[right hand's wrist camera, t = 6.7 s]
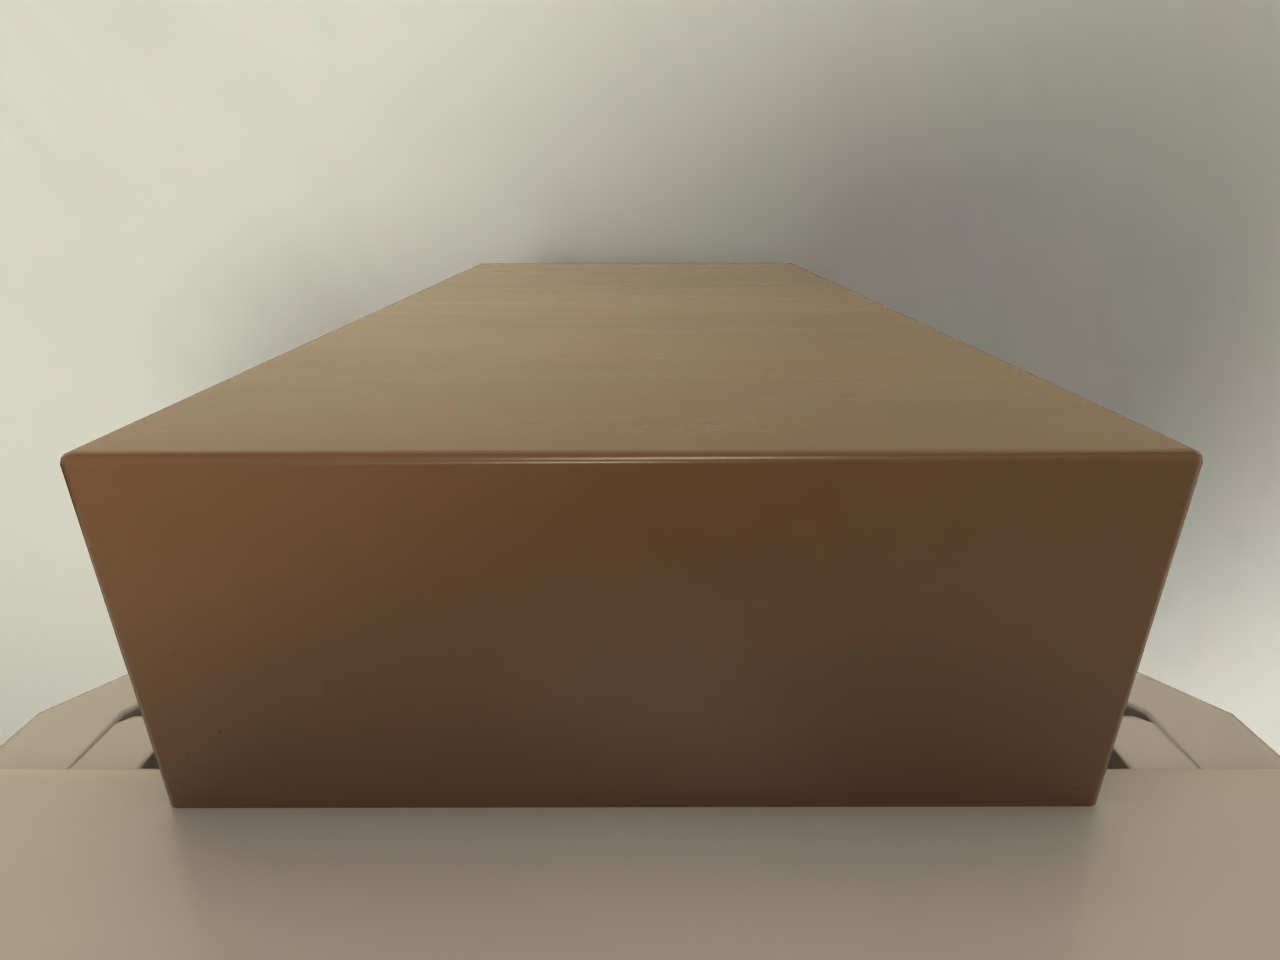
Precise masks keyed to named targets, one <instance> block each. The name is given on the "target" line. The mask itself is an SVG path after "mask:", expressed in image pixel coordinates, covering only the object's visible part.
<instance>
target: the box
mask: <svg viewBox="0 0 1280 960" xmlns="http://www.w3.org/2000/svg"><path fill="white" fill-rule="evenodd" d="M1202 463H1203V461H1202V455H1201V454H1200V452H1198V451H1196V450H1194V449H1192V448H1190V447H1188V446H1185V445H1183V444H1181V443H1179V442H1177V441H1175V440H1172V439H1170V438H1168V437H1166V436H1164V435H1162V434H1159V433H1157V432H1155V431H1153V430H1151V429H1149V428H1146V427H1144V426H1142V425H1140V424H1138V423H1136V422H1133V421H1131V420H1129V419H1127V418H1125V417H1123V416H1121V415H1118V414H1116V413H1114V412H1112V411H1110V410H1108V409H1105V408H1103V407H1101V406H1099V405H1097V404H1095V403H1092V402H1090V401H1088V400H1086V399H1084V398H1082V397H1079V396H1077V395H1075V394H1073V393H1071V392H1069V391H1066V390H1064V389H1062V388H1060V387H1058V386H1056V385H1053V384H1051V383H1049V382H1047V381H1045V380H1043V379H1040V378H1038V377H1036V376H1034V375H1032V374H1030V373H1027V372H1025V371H1023V370H1021V369H1019V368H1017V367H1015V366H1012V365H1010V364H1008V363H1006V362H1004V361H1002V360H999V359H997V358H995V357H993V356H991V355H989V354H986V353H984V352H982V351H980V350H978V349H976V348H973V347H971V346H969V345H967V344H965V343H963V342H960V341H958V340H956V339H954V338H952V337H950V336H947V335H945V334H943V333H941V332H939V331H937V330H934V329H932V328H930V327H928V326H926V325H924V324H921V323H919V322H917V321H915V320H913V319H911V318H909V317H906V316H904V315H902V314H900V313H898V312H896V311H893V310H891V309H889V308H887V307H885V306H883V305H880V304H878V303H876V302H874V301H872V300H870V299H867V298H865V297H863V296H861V295H859V294H857V293H854V292H852V291H850V290H848V289H846V288H844V287H841V286H839V285H837V284H835V283H833V282H831V281H828V280H826V279H824V278H822V277H820V276H818V275H815V274H813V273H811V272H809V271H807V270H805V269H803V268H800V267H798V266H796V265H794V264H792V263H567V264H480V265H478V266H475V267H473V268H471V269H469V270H467V271H464V272H462V273H460V274H458V275H456V276H453V277H451V278H449V279H447V280H445V281H442V282H440V283H438V284H436V285H434V286H432V287H429V288H427V289H425V290H423V291H421V292H418V293H416V294H414V295H412V296H410V297H407V298H405V299H403V300H401V301H399V302H396V303H394V304H392V305H390V306H388V307H385V308H383V309H381V310H379V311H377V312H375V313H372V314H370V315H368V316H366V317H364V318H361V319H359V320H357V321H355V322H353V323H350V324H348V325H346V326H344V327H342V328H339V329H337V330H335V331H333V332H331V333H328V334H326V335H324V336H322V337H320V338H318V339H315V340H313V341H311V342H309V343H307V344H304V345H302V346H300V347H298V348H296V349H293V350H291V351H289V352H287V353H285V354H282V355H280V356H278V357H276V358H274V359H272V360H269V361H267V362H265V363H263V364H261V365H258V366H256V367H254V368H252V369H250V370H247V371H245V372H243V373H241V374H239V375H236V376H234V377H232V378H230V379H228V380H225V381H223V382H221V383H219V384H217V385H215V386H212V387H210V388H208V389H206V390H204V391H201V392H199V393H197V394H195V395H193V396H190V397H188V398H186V399H184V400H182V401H179V402H177V403H175V404H173V405H171V406H168V407H166V408H164V409H162V410H160V411H158V412H155V413H153V414H151V415H149V416H147V417H144V418H142V419H140V420H138V421H136V422H133V423H131V424H129V425H127V426H125V427H122V428H120V429H118V430H116V431H114V432H111V433H109V434H107V435H105V436H103V437H101V438H98V439H96V440H94V441H92V442H90V443H87V444H85V445H83V446H81V447H79V448H76V449H74V450H72V451H70V452H68V453H65V454H64V455H63V456H62V457H61V462H60V466H61V469H62V472H63V475H64V478H65V481H66V484H67V487H68V490H69V493H70V496H71V499H72V502H73V505H74V509H75V512H76V515H77V518H78V521H79V524H80V527H81V530H82V533H83V536H84V539H85V542H86V545H87V548H88V552H89V555H90V558H91V561H92V564H93V567H94V570H95V573H96V576H97V579H98V582H99V585H100V588H101V591H102V594H103V598H104V601H105V604H106V607H107V610H108V613H109V616H110V619H111V622H112V625H113V628H114V631H115V634H116V637H117V640H118V644H119V647H120V650H121V653H122V656H123V659H124V662H125V665H126V668H127V671H128V674H129V677H130V680H131V683H132V686H133V690H134V693H135V696H136V699H137V702H138V705H139V708H140V711H141V714H142V717H143V720H144V723H145V726H146V729H147V733H148V736H149V739H150V742H151V745H152V748H153V751H154V754H155V757H156V760H157V763H158V766H159V769H160V772H161V775H162V779H163V782H164V785H165V788H166V791H167V794H168V797H169V800H170V803H171V806H172V807H175V808H547V807H1077V806H1093V805H1095V804H1096V801H1097V798H1098V795H1099V792H1100V788H1101V785H1102V782H1103V779H1104V776H1105V772H1106V769H1107V766H1108V763H1109V760H1110V756H1111V753H1112V750H1113V747H1114V744H1115V740H1116V737H1117V734H1118V731H1119V728H1120V725H1121V721H1122V718H1123V715H1124V712H1125V709H1126V705H1127V702H1128V699H1129V696H1130V693H1131V689H1132V686H1133V683H1134V680H1135V677H1136V673H1137V670H1138V667H1139V664H1140V661H1141V658H1142V654H1143V651H1144V648H1145V645H1146V642H1147V638H1148V635H1149V632H1150V629H1151V626H1152V622H1153V619H1154V616H1155V613H1156V610H1157V606H1158V603H1159V600H1160V597H1161V594H1162V590H1163V587H1164V584H1165V581H1166V578H1167V575H1168V571H1169V568H1170V565H1171V562H1172V559H1173V555H1174V552H1175V549H1176V546H1177V543H1178V539H1179V536H1180V533H1181V530H1182V527H1183V523H1184V520H1185V517H1186V514H1187V511H1188V507H1189V504H1190V501H1191V498H1192V495H1193V492H1194V488H1195V485H1196V482H1197V479H1198V476H1199V472H1200V469H1201V466H1202Z"/></svg>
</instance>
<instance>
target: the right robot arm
mask: <svg viewBox="0 0 1280 960" xmlns="http://www.w3.org/2000/svg"><path fill="white" fill-rule="evenodd" d="M0 960H1280V756H1279V755H1278V754H1277V753H1276V752H1275V751H1274V750H1273V749H1271V748H1270V747H1269V746H1268V745H1267V744H1266V743H1265V742H1264V741H1262V740H1261V739H1260V738H1259V737H1258V736H1257V735H1256V734H1254V733H1253V732H1252V731H1251V730H1250V729H1249V728H1248V727H1247V726H1245V725H1244V724H1243V723H1242V722H1241V721H1240V720H1239V719H1237V718H1236V717H1235V716H1234V715H1233V714H1231V713H1229V712H1226V711H1224V710H1222V709H1220V708H1217V707H1215V706H1213V705H1211V704H1208V703H1206V702H1204V701H1202V700H1199V699H1197V698H1195V697H1193V696H1190V695H1188V694H1186V693H1184V692H1181V691H1179V690H1177V689H1175V688H1172V687H1170V686H1168V685H1166V684H1163V683H1161V682H1159V681H1157V680H1154V679H1152V678H1150V677H1148V676H1145V675H1143V674H1141V673H1139V672H1137V673H1136V677H1135V680H1134V683H1133V686H1132V689H1131V693H1130V696H1129V699H1128V702H1127V705H1126V709H1125V712H1124V715H1123V718H1122V721H1121V725H1120V728H1119V731H1118V734H1117V737H1116V740H1115V744H1114V747H1113V750H1112V753H1111V756H1110V760H1109V763H1108V766H1107V769H1106V772H1105V776H1104V779H1103V782H1102V785H1101V788H1100V792H1099V795H1098V798H1097V801H1096V804H1095V805H1093V806H1077V807H547V808H175V807H172V806H171V803H170V800H169V797H168V794H167V791H166V788H165V785H164V782H163V779H162V775H161V772H160V769H159V766H158V763H157V760H156V757H155V754H154V751H153V748H152V745H151V742H150V739H149V736H148V733H147V729H146V726H145V723H144V720H143V717H142V714H141V711H140V708H139V705H138V702H137V699H136V696H135V693H134V690H133V686H132V683H131V680H130V677H129V674H127V675H125V676H123V677H120V678H118V679H116V680H114V681H111V682H109V683H107V684H104V685H102V686H100V687H98V688H95V689H93V690H91V691H88V692H86V693H84V694H82V695H79V696H77V697H75V698H73V699H70V700H68V701H66V702H63V703H61V704H59V705H57V706H54V707H52V708H50V709H47V710H45V711H43V712H41V713H39V714H37V715H36V716H35V717H34V718H33V719H32V720H30V721H29V722H28V723H27V724H26V725H25V726H24V727H22V728H21V729H20V730H19V731H18V732H17V733H15V734H14V735H13V736H12V737H11V738H10V739H8V740H7V741H6V742H5V743H4V744H3V745H1V746H0Z"/></svg>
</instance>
